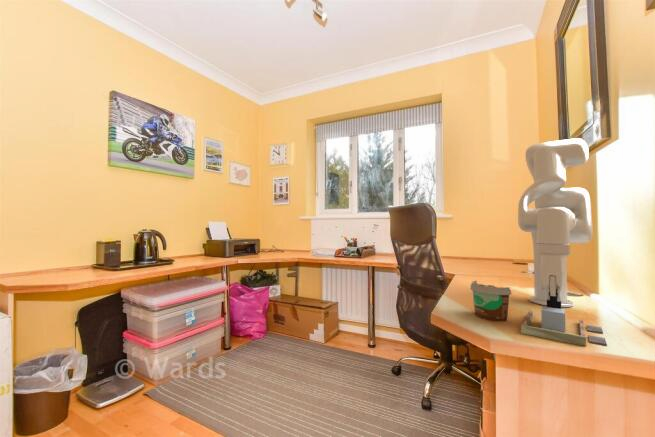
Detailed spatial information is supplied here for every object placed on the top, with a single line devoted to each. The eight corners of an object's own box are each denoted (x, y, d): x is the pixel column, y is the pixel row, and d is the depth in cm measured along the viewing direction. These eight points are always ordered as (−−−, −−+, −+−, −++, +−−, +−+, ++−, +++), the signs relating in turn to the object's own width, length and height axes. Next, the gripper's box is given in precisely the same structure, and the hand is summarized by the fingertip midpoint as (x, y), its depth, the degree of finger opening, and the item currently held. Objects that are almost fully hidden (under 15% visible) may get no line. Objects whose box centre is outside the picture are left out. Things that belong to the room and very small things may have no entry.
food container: (461, 313, 93) (461, 281, 93) (475, 310, 95) (474, 280, 96) (497, 325, 82) (496, 289, 82) (511, 322, 84) (511, 287, 84)
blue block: (542, 323, 83) (542, 306, 83) (565, 327, 79) (565, 309, 80) (541, 328, 79) (541, 310, 79) (565, 332, 76) (565, 313, 76)
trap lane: (529, 315, 91) (529, 308, 91) (600, 326, 80) (600, 319, 80) (521, 333, 75) (521, 325, 75) (608, 350, 65) (608, 341, 65)
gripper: (538, 248, 91) (539, 306, 91) (534, 250, 80) (535, 318, 79) (569, 249, 86) (571, 311, 86) (569, 252, 75) (571, 323, 74)
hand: (554, 314), depth 83 cm, fingers closed
